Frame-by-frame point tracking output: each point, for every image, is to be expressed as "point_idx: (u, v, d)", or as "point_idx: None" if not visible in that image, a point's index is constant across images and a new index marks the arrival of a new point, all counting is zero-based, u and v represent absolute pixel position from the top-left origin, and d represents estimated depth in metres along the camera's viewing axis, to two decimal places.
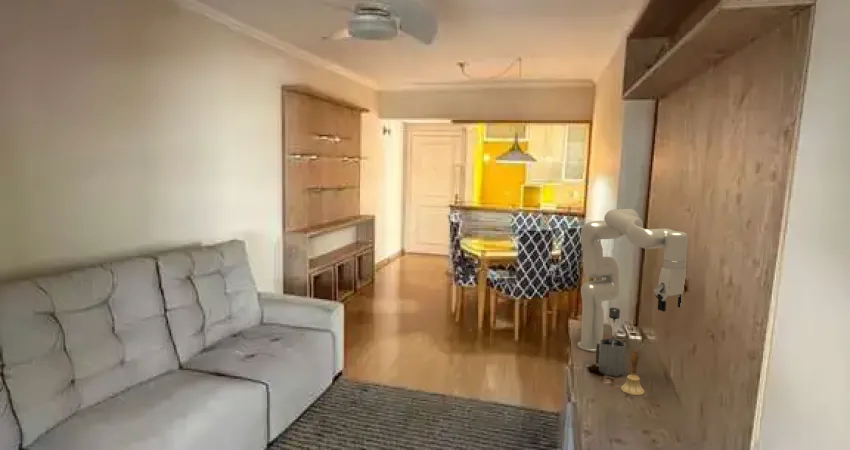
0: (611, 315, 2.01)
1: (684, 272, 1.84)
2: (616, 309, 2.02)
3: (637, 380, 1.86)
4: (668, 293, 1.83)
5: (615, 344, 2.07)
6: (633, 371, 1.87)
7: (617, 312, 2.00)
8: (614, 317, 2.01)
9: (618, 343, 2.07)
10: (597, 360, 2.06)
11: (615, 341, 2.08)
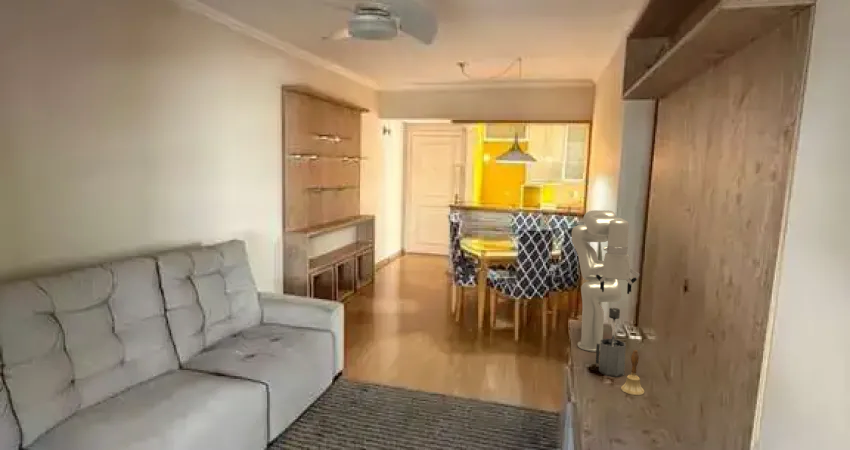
0: (611, 315, 2.01)
1: None
2: (616, 309, 2.02)
3: (637, 380, 1.86)
4: None
5: (615, 344, 2.07)
6: (633, 371, 1.87)
7: (617, 312, 2.00)
8: (614, 317, 2.01)
9: (618, 343, 2.07)
10: (597, 360, 2.06)
11: (615, 341, 2.08)
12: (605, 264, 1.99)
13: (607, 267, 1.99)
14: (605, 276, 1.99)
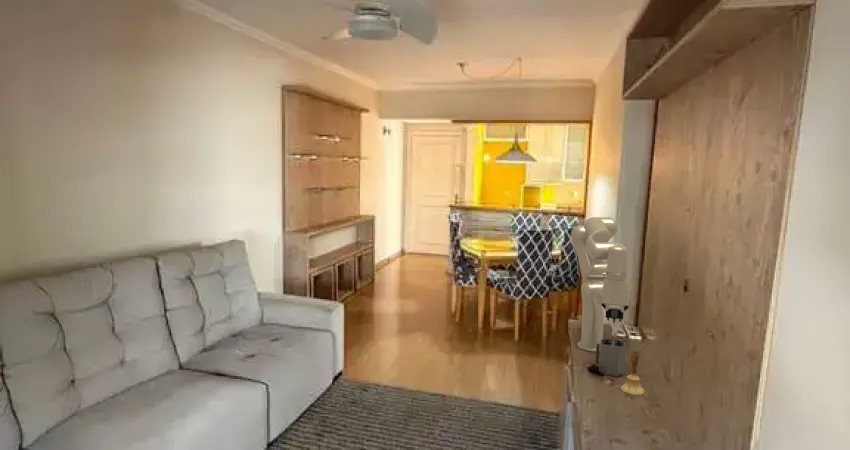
0: (611, 315, 2.01)
1: None
2: (616, 309, 2.02)
3: (637, 380, 1.86)
4: None
5: (614, 344, 2.07)
6: (633, 371, 1.87)
7: (617, 312, 2.00)
8: (614, 317, 2.01)
9: (618, 343, 2.07)
10: (597, 360, 2.06)
11: (615, 341, 2.08)
12: (604, 290, 2.00)
13: (606, 293, 2.00)
14: (604, 301, 2.01)
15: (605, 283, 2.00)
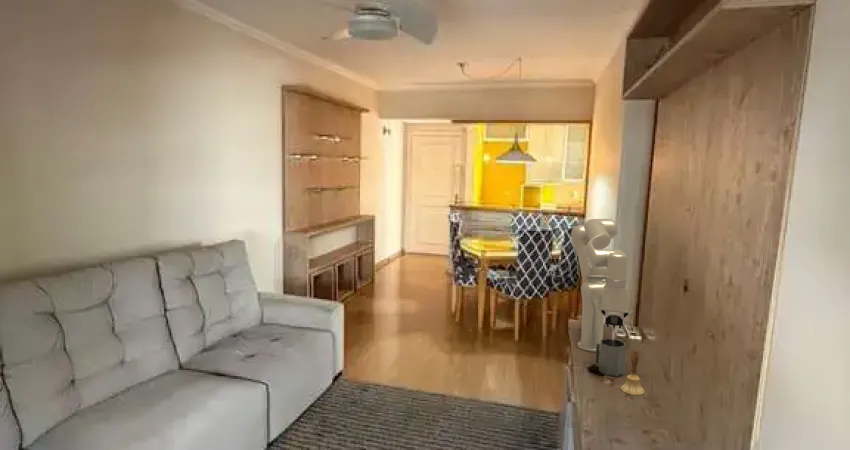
0: (611, 322, 2.02)
1: None
2: (616, 316, 2.02)
3: (637, 380, 1.86)
4: None
5: None
6: (633, 371, 1.87)
7: (617, 319, 2.01)
8: (614, 324, 2.01)
9: (618, 343, 2.07)
10: (597, 360, 2.06)
11: (615, 341, 2.08)
12: (604, 296, 2.01)
13: (606, 300, 2.00)
14: (604, 308, 2.01)
15: (605, 290, 2.00)
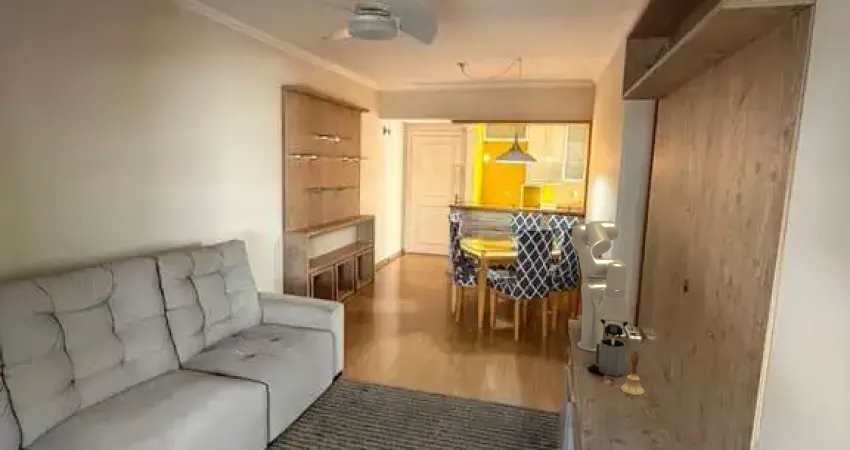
0: (610, 331, 2.02)
1: None
2: (615, 325, 2.02)
3: (637, 380, 1.86)
4: None
5: None
6: (633, 371, 1.87)
7: (616, 328, 2.01)
8: (613, 333, 2.01)
9: (618, 343, 2.07)
10: (597, 360, 2.06)
11: (615, 341, 2.08)
12: (603, 306, 2.01)
13: (605, 309, 2.01)
14: (603, 318, 2.01)
15: (604, 299, 2.01)
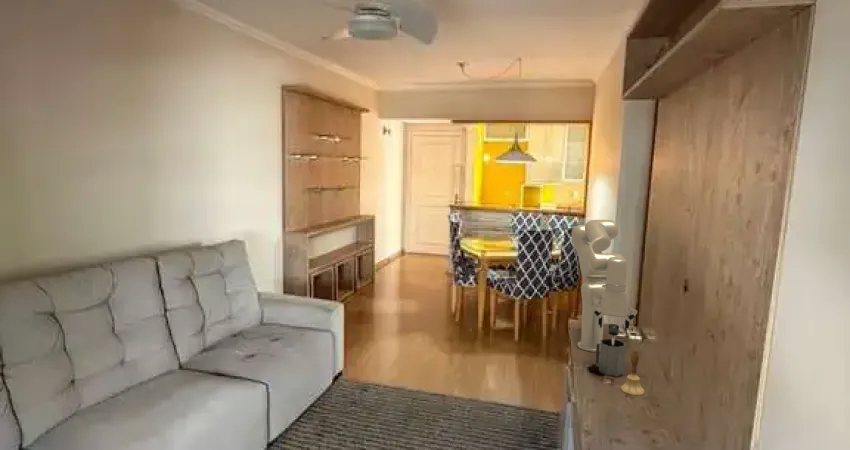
0: (610, 331, 2.02)
1: None
2: (615, 325, 2.02)
3: (637, 380, 1.86)
4: None
5: None
6: (633, 371, 1.87)
7: (616, 328, 2.01)
8: (613, 333, 2.02)
9: (618, 343, 2.07)
10: (597, 360, 2.06)
11: (615, 341, 2.08)
12: (603, 301, 2.01)
13: (605, 304, 2.01)
14: (603, 313, 2.02)
15: (604, 294, 2.01)
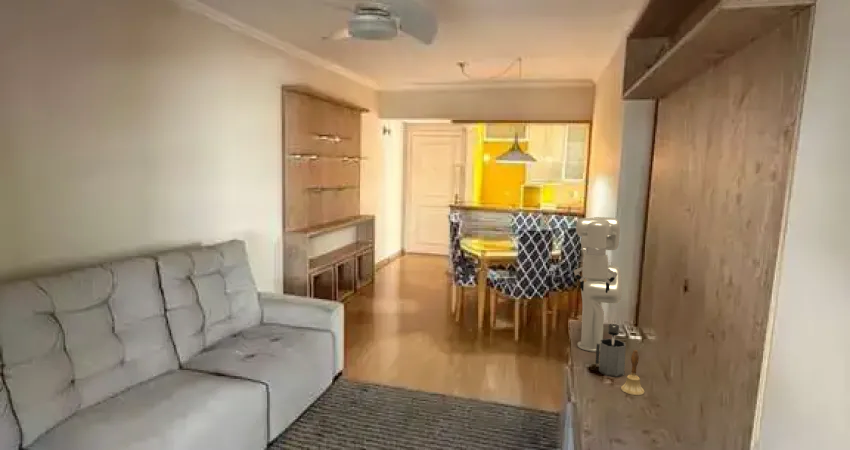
0: (610, 331, 2.02)
1: None
2: (615, 325, 2.02)
3: (637, 380, 1.86)
4: None
5: None
6: (633, 371, 1.87)
7: (616, 328, 2.01)
8: (613, 333, 2.02)
9: (618, 343, 2.07)
10: (597, 360, 2.06)
11: (615, 341, 2.08)
12: (584, 264, 2.07)
13: (586, 268, 2.07)
14: (584, 276, 2.08)
15: (585, 258, 2.07)
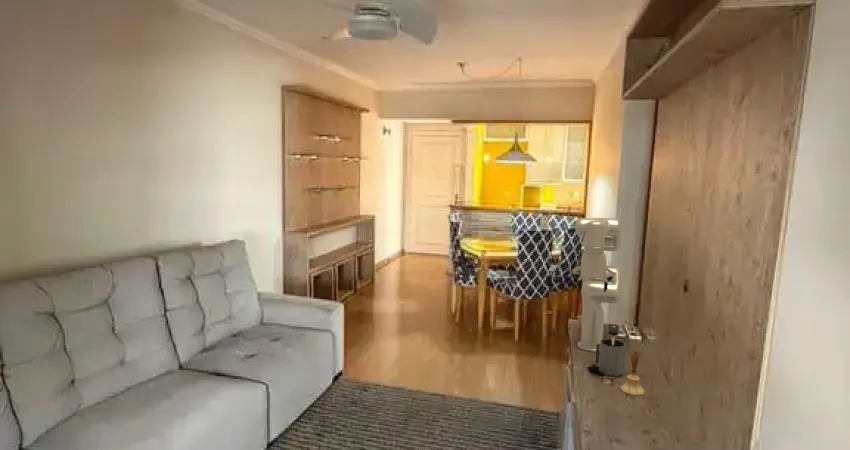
0: (610, 331, 2.02)
1: None
2: (615, 325, 2.02)
3: (637, 380, 1.86)
4: None
5: None
6: (633, 371, 1.87)
7: (616, 328, 2.01)
8: (613, 333, 2.02)
9: (618, 343, 2.07)
10: (597, 360, 2.06)
11: (615, 341, 2.08)
12: (583, 263, 2.08)
13: (584, 267, 2.08)
14: (583, 275, 2.08)
15: (583, 257, 2.08)
